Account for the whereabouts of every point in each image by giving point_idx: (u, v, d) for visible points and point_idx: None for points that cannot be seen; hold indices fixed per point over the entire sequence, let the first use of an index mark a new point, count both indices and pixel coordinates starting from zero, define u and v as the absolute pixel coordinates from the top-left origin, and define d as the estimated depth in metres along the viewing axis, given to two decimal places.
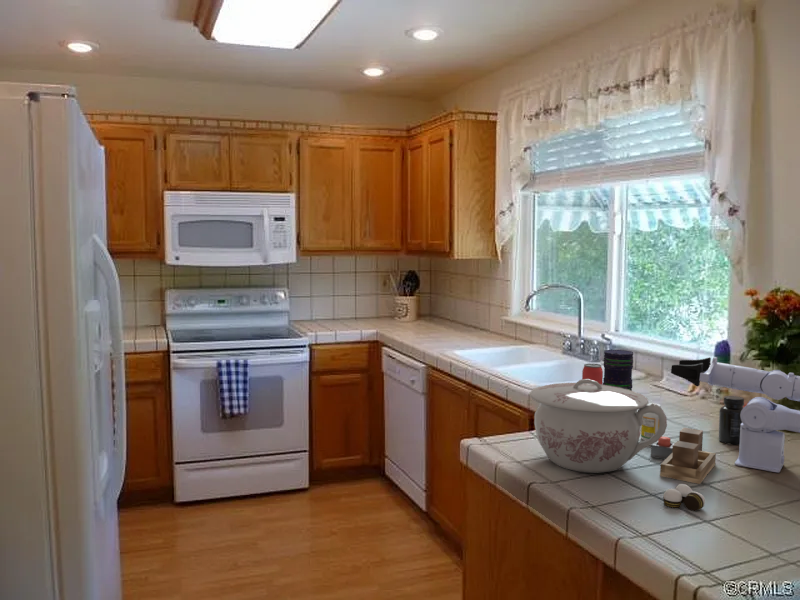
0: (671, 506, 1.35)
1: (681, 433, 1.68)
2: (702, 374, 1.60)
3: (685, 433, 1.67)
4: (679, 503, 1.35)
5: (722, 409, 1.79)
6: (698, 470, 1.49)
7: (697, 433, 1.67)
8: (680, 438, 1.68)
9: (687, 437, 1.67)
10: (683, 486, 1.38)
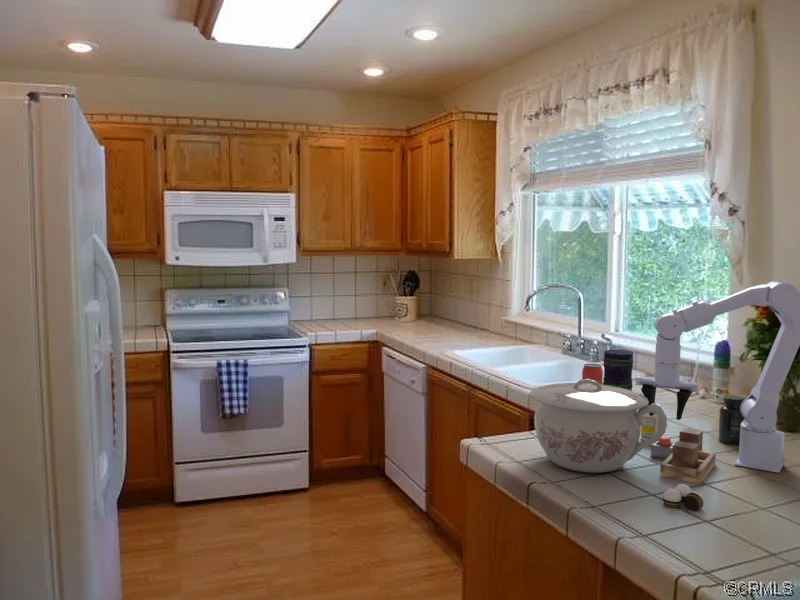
0: (671, 506, 1.35)
1: (681, 433, 1.68)
2: (697, 390, 1.61)
3: (685, 433, 1.67)
4: (679, 503, 1.35)
5: (722, 409, 1.79)
6: (698, 470, 1.49)
7: (697, 433, 1.67)
8: (680, 438, 1.68)
9: (687, 437, 1.67)
10: (683, 486, 1.38)
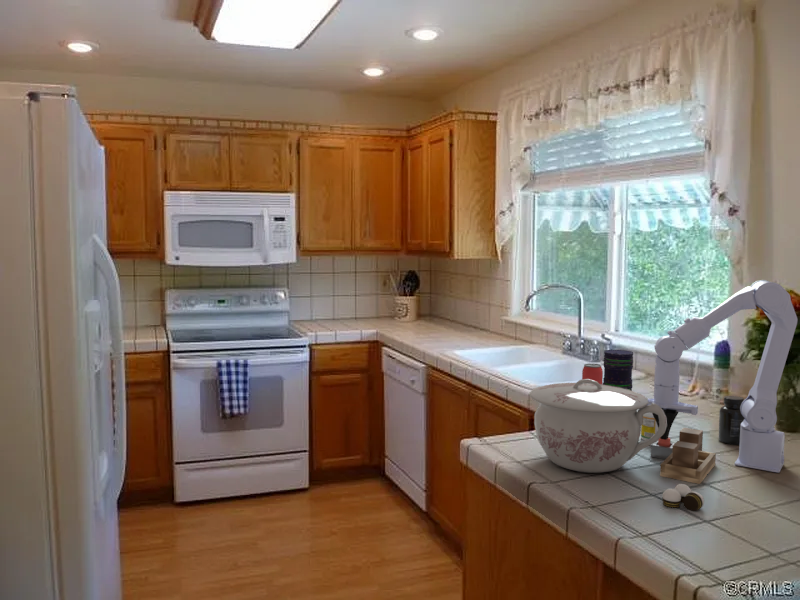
0: (670, 506, 1.35)
1: (681, 433, 1.68)
2: (696, 412, 1.62)
3: (685, 433, 1.67)
4: (678, 503, 1.35)
5: (722, 409, 1.79)
6: (698, 470, 1.49)
7: (697, 433, 1.67)
8: (680, 438, 1.68)
9: (687, 437, 1.67)
10: (682, 486, 1.38)
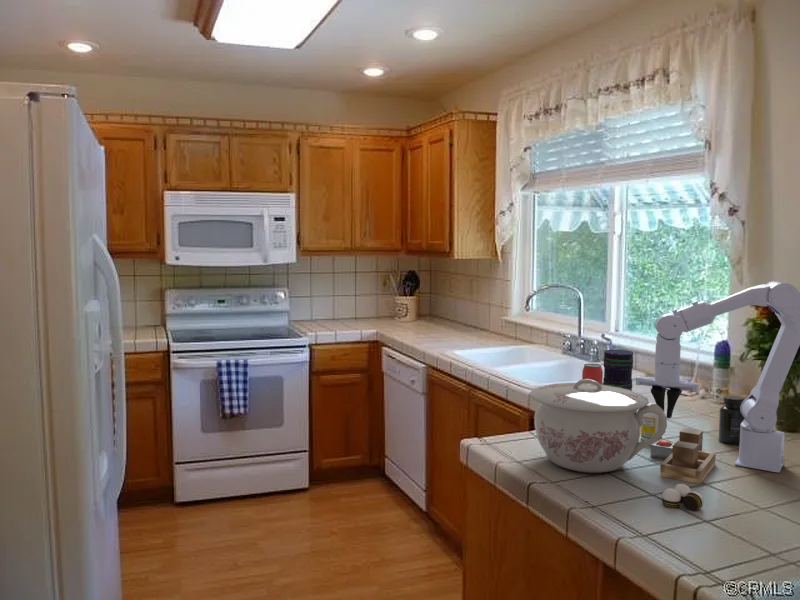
0: (670, 506, 1.35)
1: (681, 433, 1.68)
2: (697, 390, 1.61)
3: (685, 433, 1.67)
4: (678, 503, 1.35)
5: (722, 409, 1.79)
6: (698, 470, 1.49)
7: (697, 433, 1.67)
8: (680, 438, 1.68)
9: (687, 437, 1.67)
10: (682, 486, 1.38)
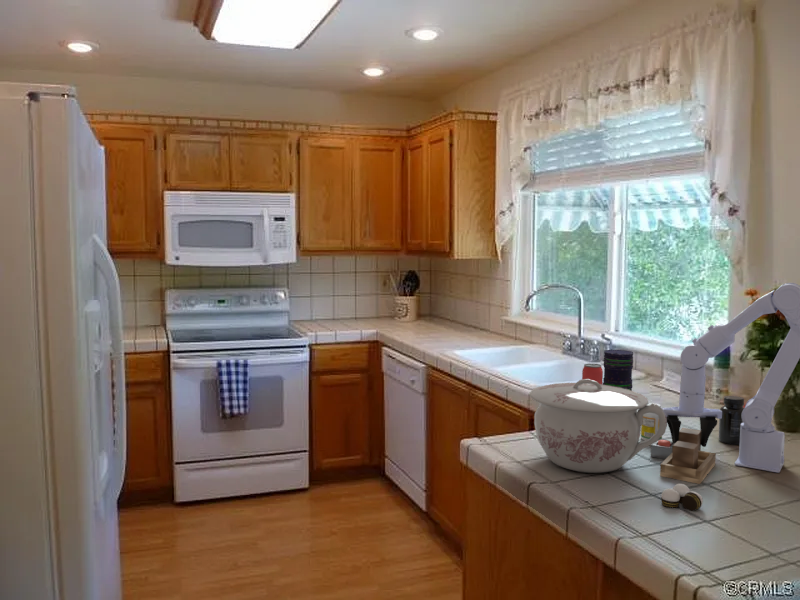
0: (669, 506, 1.35)
1: (680, 433, 1.68)
2: None
3: (684, 433, 1.67)
4: (677, 503, 1.35)
5: (722, 409, 1.79)
6: (698, 470, 1.49)
7: (696, 433, 1.67)
8: (679, 438, 1.68)
9: (686, 437, 1.67)
10: (681, 486, 1.38)
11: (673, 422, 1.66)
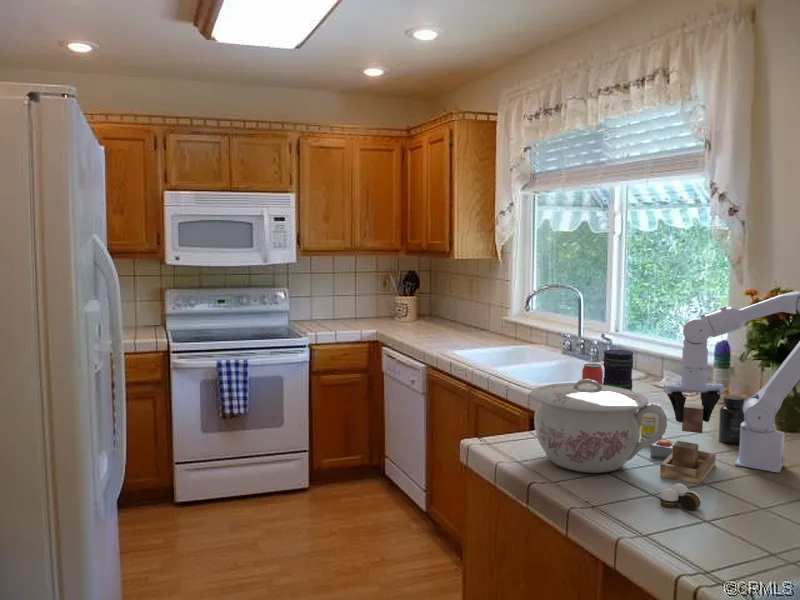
0: (668, 506, 1.35)
1: (684, 408, 1.65)
2: None
3: (689, 408, 1.65)
4: (676, 503, 1.35)
5: (722, 409, 1.79)
6: (698, 470, 1.49)
7: (700, 408, 1.64)
8: (683, 414, 1.65)
9: (691, 412, 1.64)
10: (679, 485, 1.38)
11: (678, 398, 1.63)
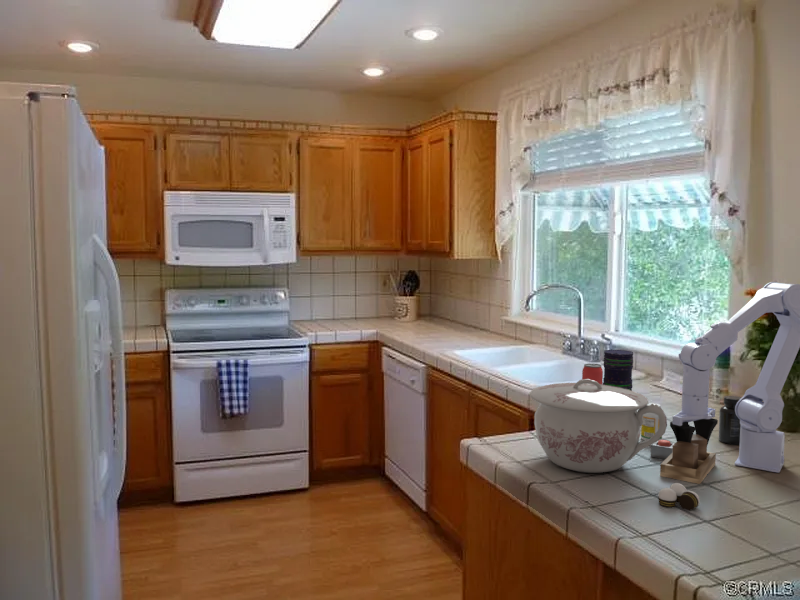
0: (666, 505, 1.35)
1: None
2: None
3: (694, 441, 1.57)
4: (674, 502, 1.35)
5: (722, 409, 1.79)
6: (698, 470, 1.49)
7: (703, 438, 1.58)
8: None
9: None
10: (678, 485, 1.39)
11: (690, 430, 1.54)
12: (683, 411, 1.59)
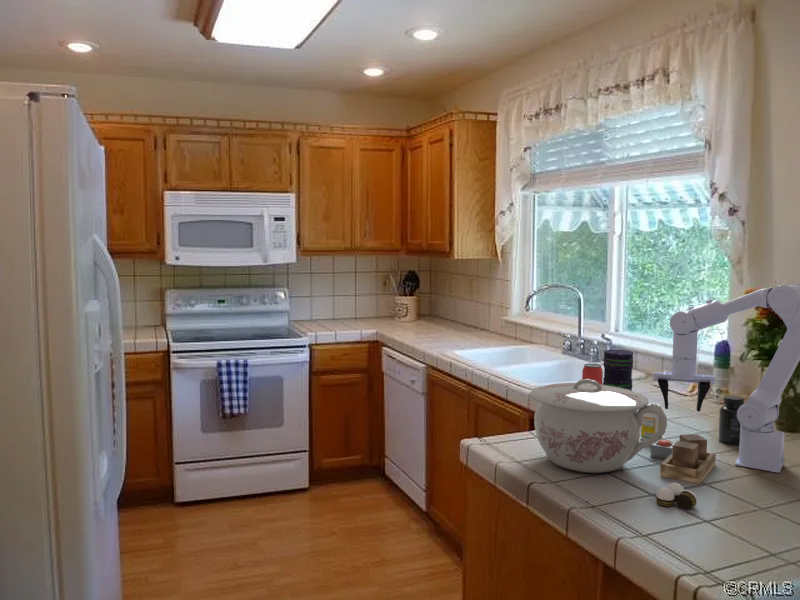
0: (664, 505, 1.35)
1: (690, 441, 1.57)
2: (714, 382, 1.71)
3: (694, 441, 1.57)
4: (672, 502, 1.35)
5: (722, 409, 1.79)
6: (698, 470, 1.49)
7: (703, 438, 1.58)
8: None
9: None
10: (675, 485, 1.39)
11: (660, 385, 1.73)
12: None
